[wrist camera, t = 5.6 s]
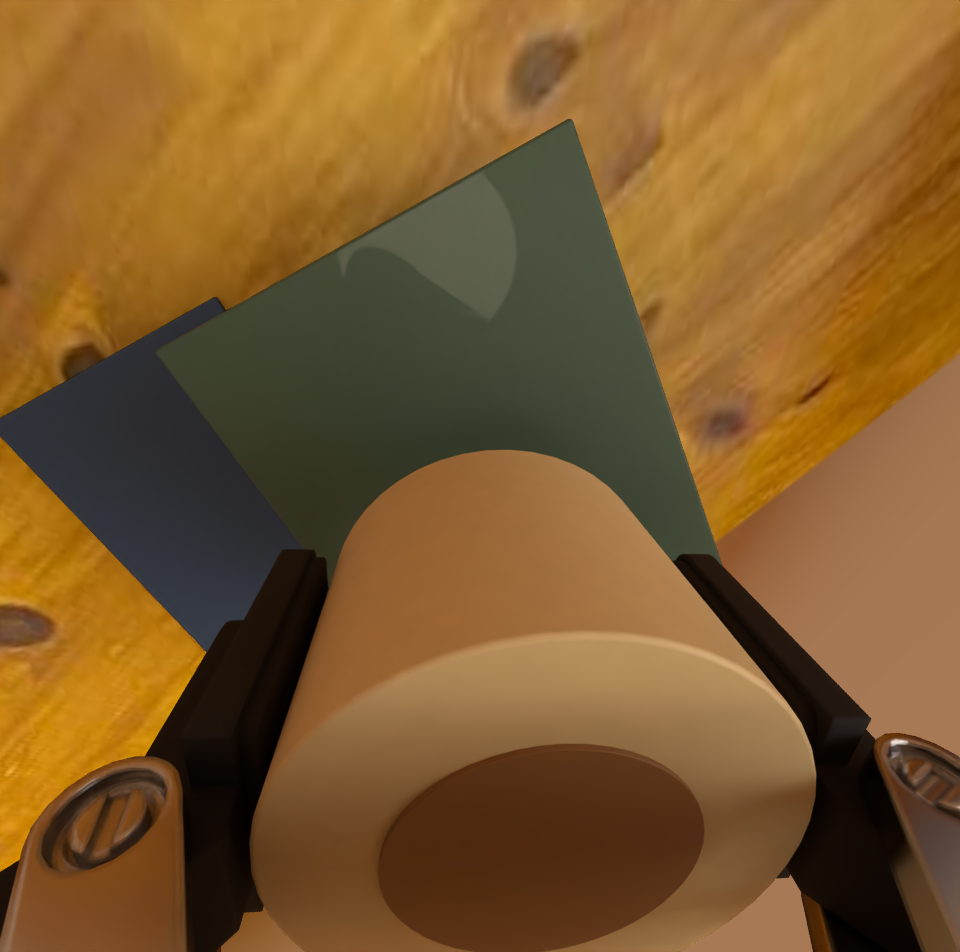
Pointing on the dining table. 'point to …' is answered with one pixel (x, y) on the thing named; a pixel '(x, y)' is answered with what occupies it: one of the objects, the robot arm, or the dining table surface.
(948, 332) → the dining table surface
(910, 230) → the dining table surface
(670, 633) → the tape
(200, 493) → the mat
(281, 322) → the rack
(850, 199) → the dining table surface
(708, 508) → the dining table surface
